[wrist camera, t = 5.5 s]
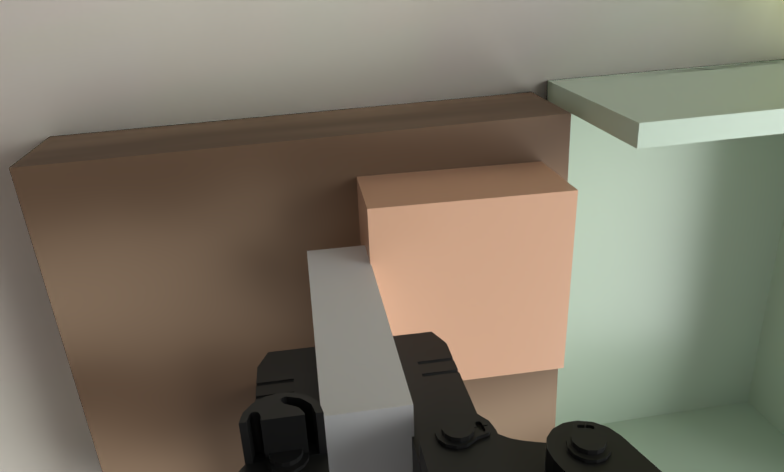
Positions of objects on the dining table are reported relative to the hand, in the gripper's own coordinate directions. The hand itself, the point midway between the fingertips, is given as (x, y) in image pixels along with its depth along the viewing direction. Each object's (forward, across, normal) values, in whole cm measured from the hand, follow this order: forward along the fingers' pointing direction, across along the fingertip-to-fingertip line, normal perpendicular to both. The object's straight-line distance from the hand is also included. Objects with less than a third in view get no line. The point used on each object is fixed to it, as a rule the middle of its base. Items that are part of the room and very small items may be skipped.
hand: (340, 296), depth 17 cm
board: (+4, 0, -3) cm, 5 cm away
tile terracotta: (+1, +3, 0) cm, 3 cm away
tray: (+4, +12, -2) cm, 13 cm away
